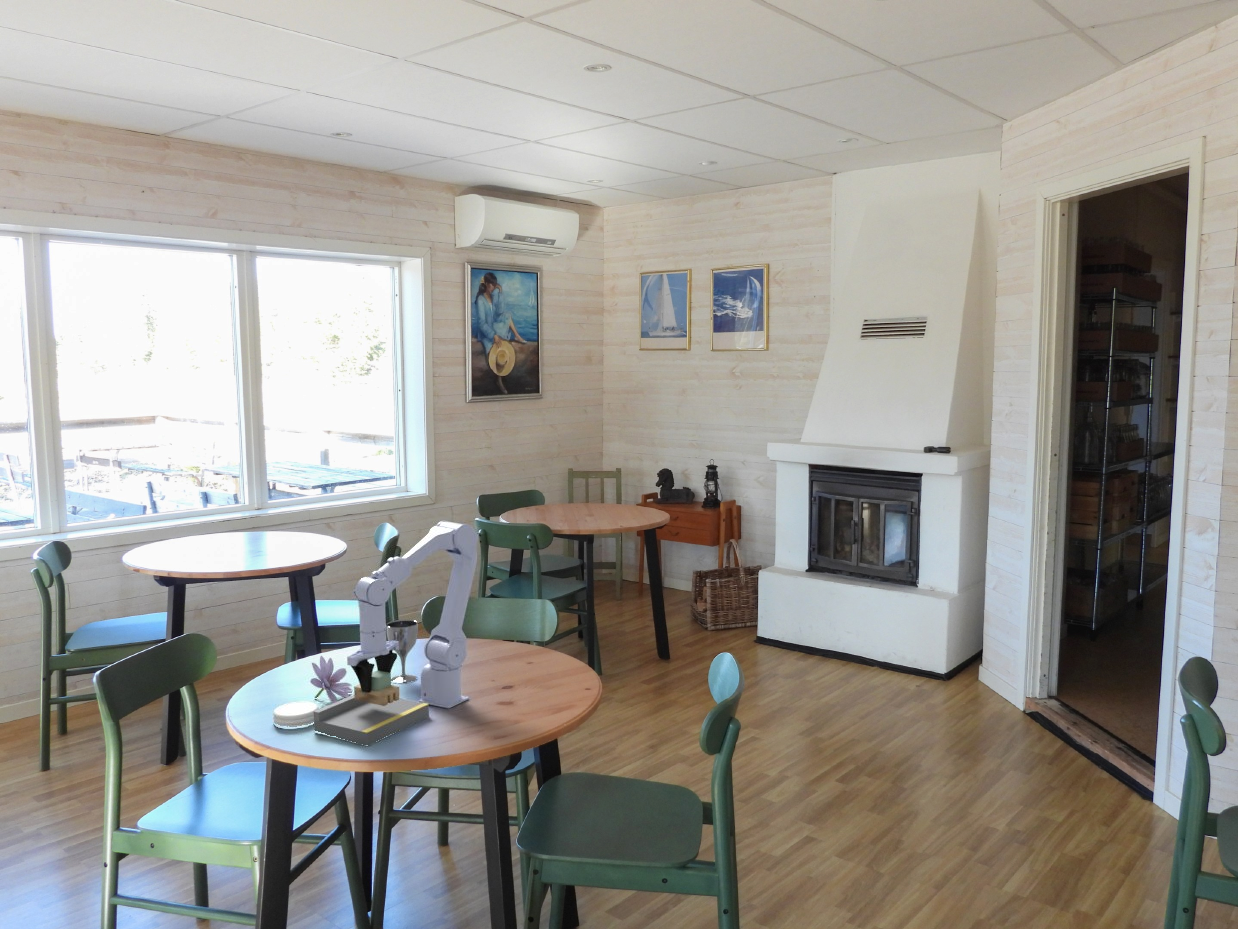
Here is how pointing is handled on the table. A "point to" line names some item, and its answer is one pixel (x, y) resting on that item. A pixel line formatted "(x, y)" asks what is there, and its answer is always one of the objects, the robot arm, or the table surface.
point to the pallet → (377, 695)
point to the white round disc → (295, 714)
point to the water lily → (330, 680)
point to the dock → (367, 719)
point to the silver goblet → (403, 643)
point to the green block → (380, 680)
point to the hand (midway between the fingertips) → (374, 688)
